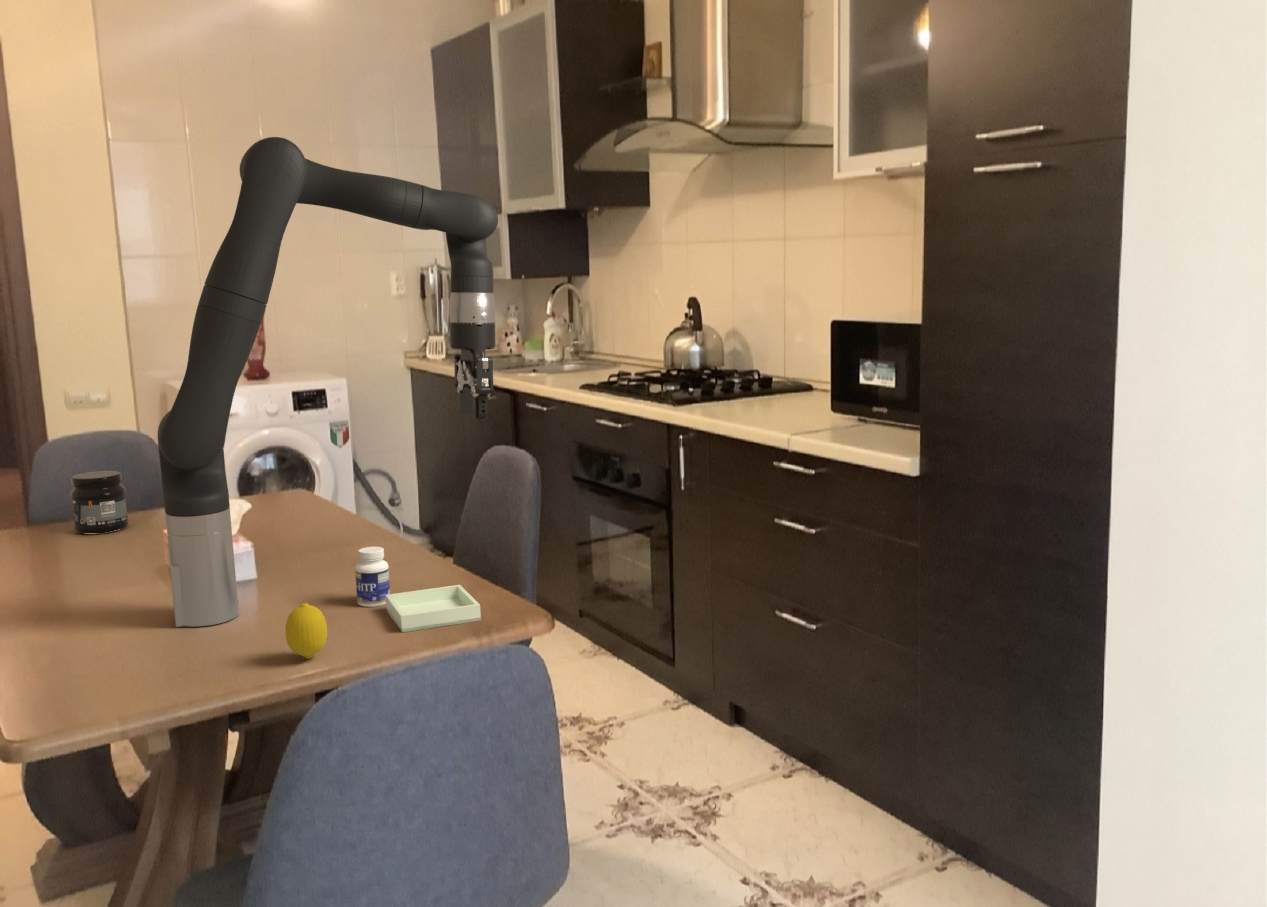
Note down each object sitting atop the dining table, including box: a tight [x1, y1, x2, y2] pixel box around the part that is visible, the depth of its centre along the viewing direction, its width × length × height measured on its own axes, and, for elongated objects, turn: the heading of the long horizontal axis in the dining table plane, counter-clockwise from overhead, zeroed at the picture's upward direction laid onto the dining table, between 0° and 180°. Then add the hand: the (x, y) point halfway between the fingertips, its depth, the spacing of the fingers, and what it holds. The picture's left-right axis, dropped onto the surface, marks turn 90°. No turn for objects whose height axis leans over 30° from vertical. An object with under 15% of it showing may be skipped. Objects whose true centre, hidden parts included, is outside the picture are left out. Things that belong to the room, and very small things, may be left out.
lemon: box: [284, 602, 328, 660], centre depth 146 cm, size 6×6×8 cm
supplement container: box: [69, 470, 129, 534], centre depth 226 cm, size 10×10×12 cm
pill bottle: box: [354, 546, 391, 608], centre depth 171 cm, size 5×5×9 cm
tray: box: [385, 584, 482, 633], centre depth 165 cm, size 12×12×2 cm
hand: (473, 417), depth 179 cm, fingers open, 8 cm apart
